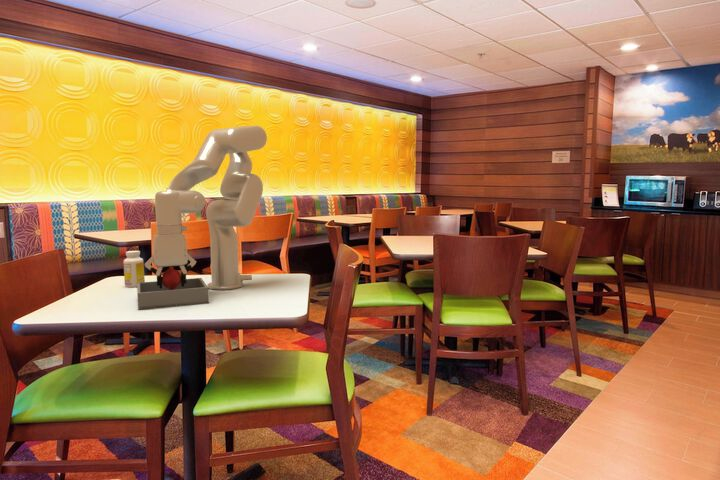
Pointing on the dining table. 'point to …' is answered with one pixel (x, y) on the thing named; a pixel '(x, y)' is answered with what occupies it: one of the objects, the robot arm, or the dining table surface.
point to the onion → (171, 278)
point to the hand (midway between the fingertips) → (171, 286)
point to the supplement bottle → (133, 269)
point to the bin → (172, 294)
